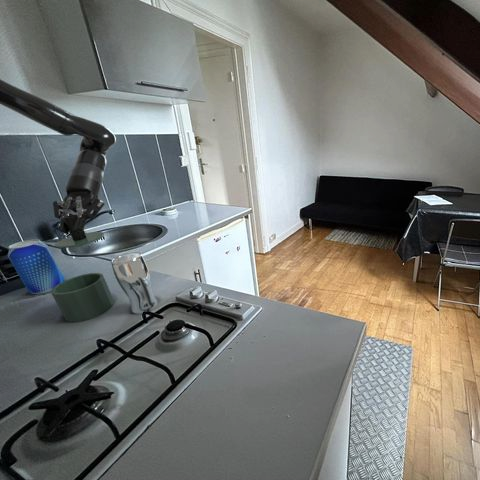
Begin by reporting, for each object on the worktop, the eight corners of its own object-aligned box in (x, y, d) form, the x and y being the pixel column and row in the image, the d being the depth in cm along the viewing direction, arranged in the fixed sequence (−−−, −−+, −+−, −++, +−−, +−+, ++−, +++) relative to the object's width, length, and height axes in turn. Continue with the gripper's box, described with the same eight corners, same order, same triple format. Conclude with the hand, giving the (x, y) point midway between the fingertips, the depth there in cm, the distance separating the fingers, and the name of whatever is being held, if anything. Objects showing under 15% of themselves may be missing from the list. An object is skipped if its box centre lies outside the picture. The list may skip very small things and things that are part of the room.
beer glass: (127, 318, 67) (105, 267, 61) (133, 303, 73) (113, 255, 67) (158, 310, 69) (139, 260, 63) (161, 296, 75) (144, 249, 69)
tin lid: (55, 253, 70) (41, 225, 67) (56, 243, 78) (43, 217, 75) (107, 241, 77) (96, 214, 74) (103, 232, 85) (93, 208, 82)
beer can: (66, 279, 88) (44, 235, 82) (67, 288, 83) (43, 242, 76) (31, 290, 83) (5, 244, 77) (30, 300, 77) (1, 251, 71)
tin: (66, 328, 65) (50, 299, 61) (65, 310, 72) (51, 283, 69) (116, 308, 71) (104, 282, 68) (111, 293, 78) (101, 269, 75)
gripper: (51, 175, 77) (31, 228, 71) (99, 172, 78) (84, 224, 71) (73, 189, 84) (57, 238, 78) (117, 186, 85) (105, 235, 78)
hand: (70, 231), depth 74 cm, fingers closed on tin lid, 3 cm apart
